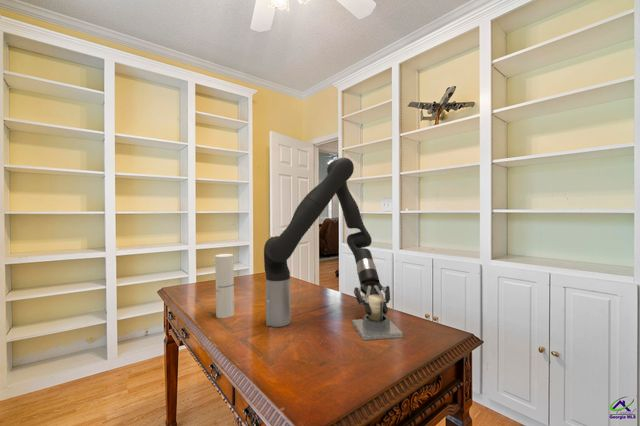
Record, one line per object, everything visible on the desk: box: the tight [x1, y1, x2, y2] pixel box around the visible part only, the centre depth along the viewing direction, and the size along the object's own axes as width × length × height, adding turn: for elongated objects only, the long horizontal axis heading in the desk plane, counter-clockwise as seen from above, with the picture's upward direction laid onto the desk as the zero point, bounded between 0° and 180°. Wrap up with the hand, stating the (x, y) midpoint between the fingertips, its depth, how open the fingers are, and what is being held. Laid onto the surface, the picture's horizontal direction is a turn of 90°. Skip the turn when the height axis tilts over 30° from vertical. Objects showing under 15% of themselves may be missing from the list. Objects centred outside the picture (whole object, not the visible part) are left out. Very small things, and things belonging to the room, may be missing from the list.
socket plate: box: [351, 313, 404, 341], centre depth 105 cm, size 14×14×4 cm
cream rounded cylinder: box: [368, 294, 384, 322], centre depth 106 cm, size 5×5×10 cm
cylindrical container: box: [214, 253, 235, 319], centre depth 122 cm, size 7×7×25 cm
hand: (377, 313), depth 104 cm, fingers closed on cream rounded cylinder, 5 cm apart
